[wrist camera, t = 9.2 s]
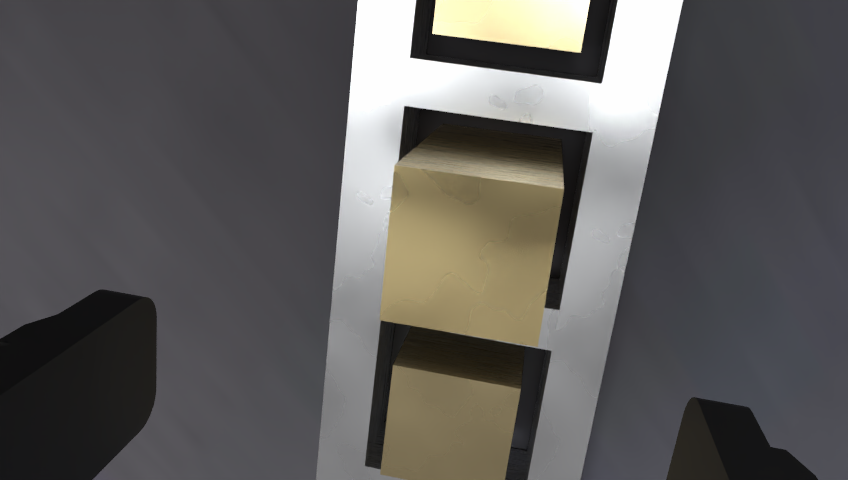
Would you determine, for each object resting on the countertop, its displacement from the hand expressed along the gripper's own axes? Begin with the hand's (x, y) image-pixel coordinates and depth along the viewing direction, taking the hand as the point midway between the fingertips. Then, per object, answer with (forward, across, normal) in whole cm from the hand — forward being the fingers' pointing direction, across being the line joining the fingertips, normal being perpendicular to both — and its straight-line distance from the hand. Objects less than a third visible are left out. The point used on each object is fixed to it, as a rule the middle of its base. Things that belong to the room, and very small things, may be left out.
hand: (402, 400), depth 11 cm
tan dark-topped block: (+15, 0, 0) cm, 15 cm away
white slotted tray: (+15, 0, 0) cm, 15 cm away
